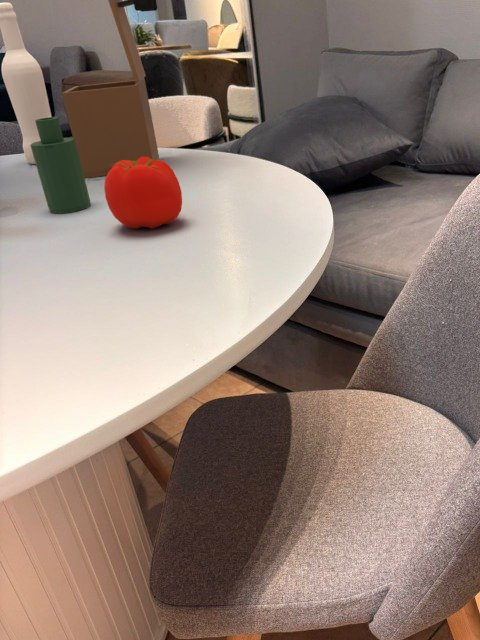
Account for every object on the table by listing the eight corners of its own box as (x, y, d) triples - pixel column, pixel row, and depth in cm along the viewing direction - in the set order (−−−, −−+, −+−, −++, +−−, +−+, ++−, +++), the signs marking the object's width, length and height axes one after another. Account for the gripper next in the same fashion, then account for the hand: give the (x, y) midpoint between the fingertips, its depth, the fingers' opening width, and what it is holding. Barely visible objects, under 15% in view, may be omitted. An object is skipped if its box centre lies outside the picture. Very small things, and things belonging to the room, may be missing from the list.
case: (83, 178, 122) (61, 93, 114) (94, 164, 133) (75, 86, 125) (154, 170, 122) (138, 85, 115) (159, 157, 134) (144, 79, 126)
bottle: (64, 155, 146) (24, 1, 131) (65, 161, 139) (23, 0, 124) (28, 160, 144) (-17, 5, 129) (26, 166, 138) (-21, 3, 122)
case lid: (104, -11, 107) (135, -19, 107) (114, -8, 119) (142, -15, 118) (135, 82, 114) (164, 75, 114) (142, 77, 126) (168, 70, 126)
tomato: (168, 237, 83) (154, 168, 79) (96, 236, 86) (79, 169, 82) (201, 214, 92) (191, 150, 87) (135, 214, 95) (121, 152, 90)
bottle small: (45, 215, 99) (19, 124, 92) (54, 205, 104) (29, 118, 98) (87, 210, 99) (64, 119, 92) (93, 200, 105) (72, 113, 98)
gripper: (110, -100, 113) (130, 12, 122) (96, -118, 98) (120, 11, 107) (153, -103, 114) (170, 9, 122) (145, -122, 99) (165, 8, 108)
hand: (146, 10), depth 115 cm, fingers open, 9 cm apart
